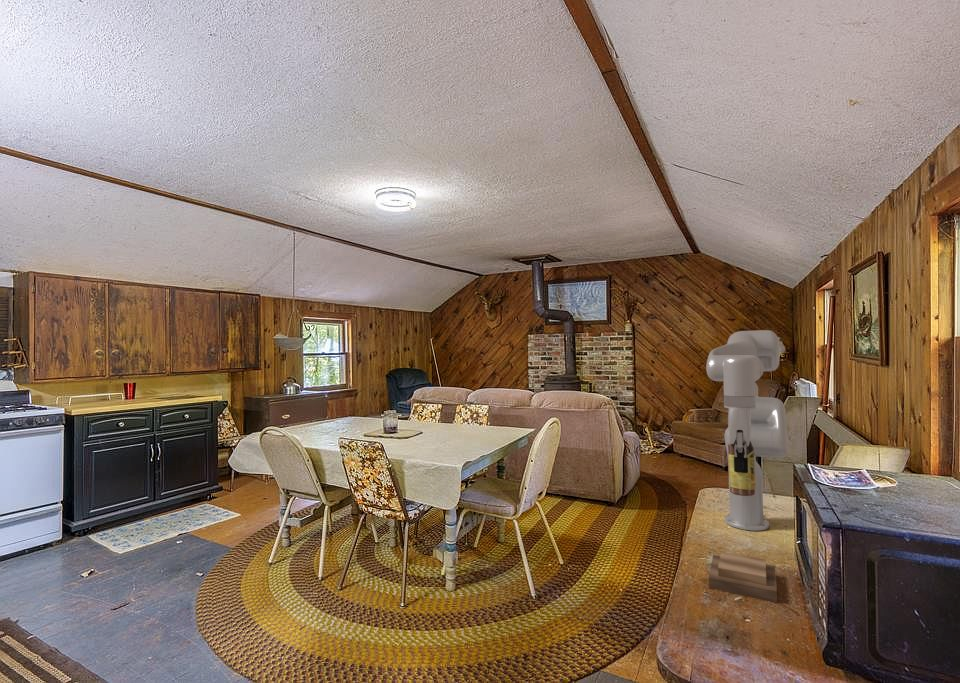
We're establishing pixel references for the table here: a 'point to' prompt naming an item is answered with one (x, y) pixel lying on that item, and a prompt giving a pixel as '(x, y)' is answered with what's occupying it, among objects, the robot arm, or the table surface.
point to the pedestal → (743, 576)
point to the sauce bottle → (742, 481)
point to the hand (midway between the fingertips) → (741, 468)
